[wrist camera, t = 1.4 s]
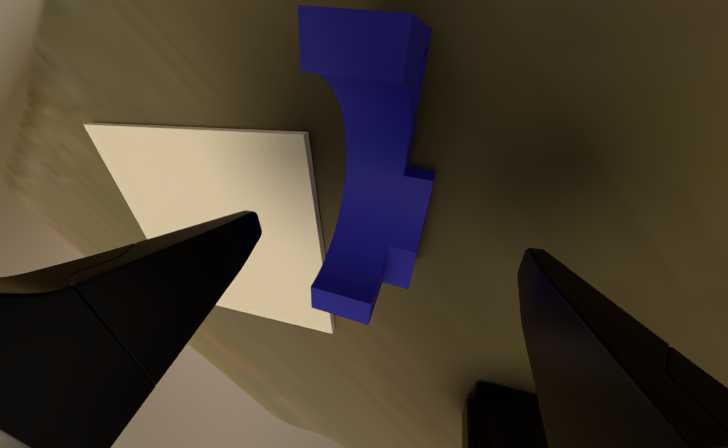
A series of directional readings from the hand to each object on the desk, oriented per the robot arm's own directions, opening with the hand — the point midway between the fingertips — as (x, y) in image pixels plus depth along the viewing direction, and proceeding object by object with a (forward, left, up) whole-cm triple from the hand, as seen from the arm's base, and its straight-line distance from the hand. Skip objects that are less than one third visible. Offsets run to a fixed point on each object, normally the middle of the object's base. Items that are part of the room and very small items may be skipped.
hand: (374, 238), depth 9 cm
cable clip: (+1, 0, -7) cm, 7 cm away
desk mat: (+14, +7, -7) cm, 17 cm away
